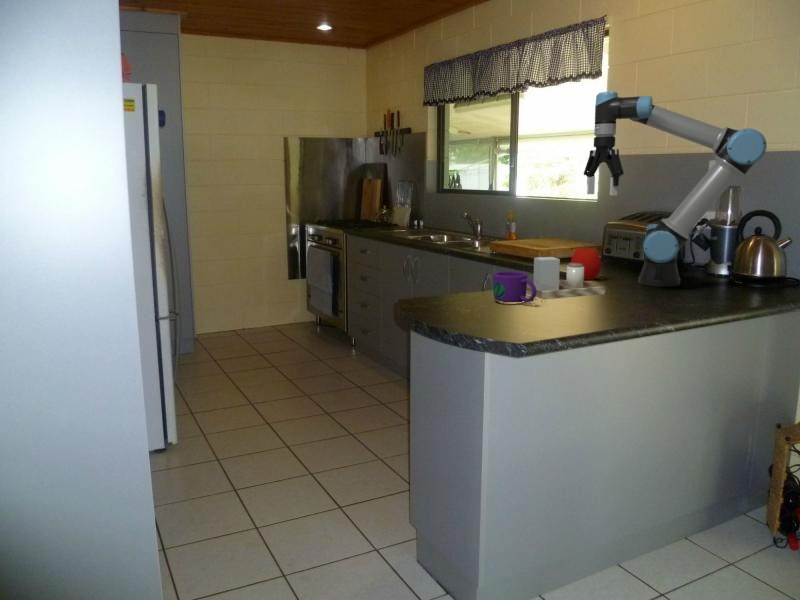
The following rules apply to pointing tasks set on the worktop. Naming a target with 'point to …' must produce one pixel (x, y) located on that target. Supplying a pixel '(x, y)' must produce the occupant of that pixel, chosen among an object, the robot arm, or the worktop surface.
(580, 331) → the worktop surface
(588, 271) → the tomato
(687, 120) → the robot arm
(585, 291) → the rack
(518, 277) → the mug
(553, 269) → the supplement box
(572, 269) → the ceramic jar
